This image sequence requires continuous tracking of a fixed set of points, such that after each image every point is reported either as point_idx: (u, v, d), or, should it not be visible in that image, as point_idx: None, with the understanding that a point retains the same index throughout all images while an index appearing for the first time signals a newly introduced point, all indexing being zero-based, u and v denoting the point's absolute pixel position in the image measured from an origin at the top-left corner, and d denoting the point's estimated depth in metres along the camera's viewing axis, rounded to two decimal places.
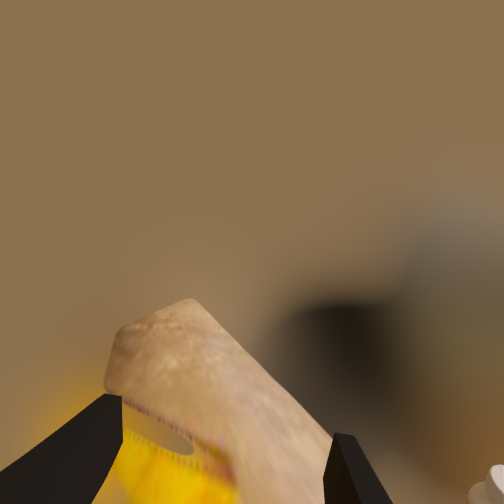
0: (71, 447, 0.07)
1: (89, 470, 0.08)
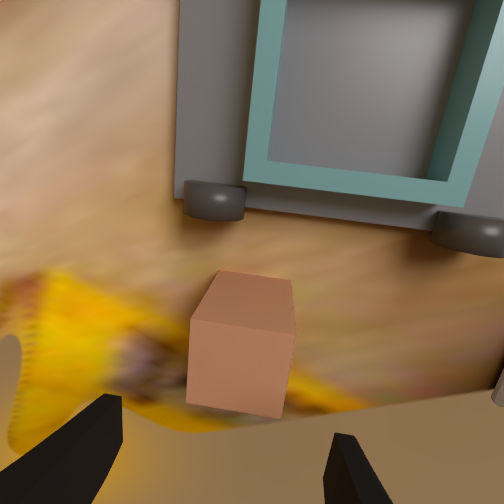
0: (71, 447, 0.07)
1: (89, 470, 0.08)
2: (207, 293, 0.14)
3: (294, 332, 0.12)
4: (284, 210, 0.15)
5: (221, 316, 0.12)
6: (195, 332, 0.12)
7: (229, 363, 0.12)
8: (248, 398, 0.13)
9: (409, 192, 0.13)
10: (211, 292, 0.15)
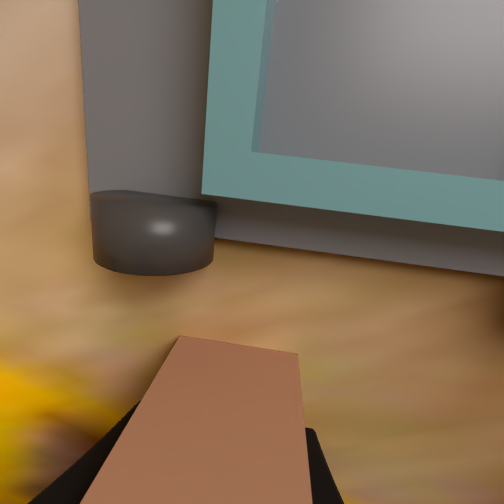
0: None
1: None
2: (139, 410, 0.07)
3: None
4: (287, 244, 0.08)
5: (146, 503, 0.05)
6: None
7: None
8: None
9: None
10: (148, 406, 0.08)
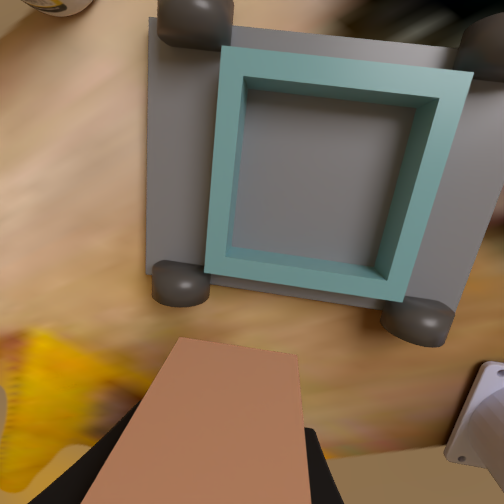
0: None
1: None
2: (139, 411, 0.07)
3: None
4: (247, 288, 0.17)
5: (146, 503, 0.06)
6: None
7: None
8: None
9: (354, 288, 0.14)
10: (148, 407, 0.08)
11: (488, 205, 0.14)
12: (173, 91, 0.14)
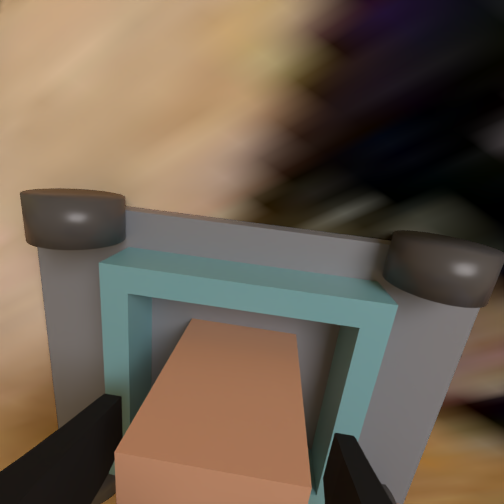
0: (71, 447, 0.07)
1: (89, 470, 0.08)
2: (162, 374, 0.09)
3: (307, 479, 0.06)
4: None
5: (175, 437, 0.07)
6: (126, 474, 0.07)
7: None
8: None
9: None
10: (169, 371, 0.09)
11: (436, 398, 0.12)
12: (68, 271, 0.12)
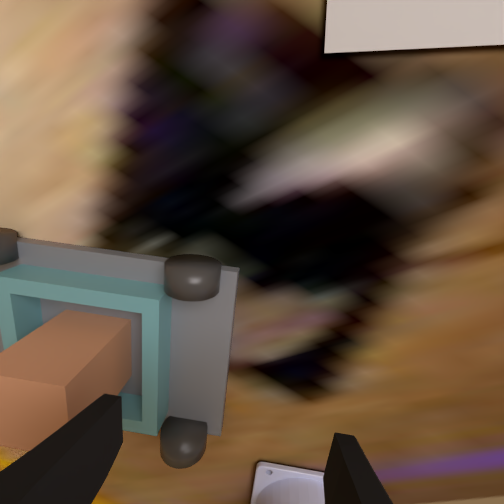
0: (71, 447, 0.07)
1: (89, 470, 0.08)
2: (22, 339, 0.16)
3: (66, 383, 0.13)
4: None
5: (9, 366, 0.14)
6: None
7: (16, 410, 0.14)
8: (40, 440, 0.14)
9: None
10: (28, 338, 0.16)
11: (223, 361, 0.19)
12: None
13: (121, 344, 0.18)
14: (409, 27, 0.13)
